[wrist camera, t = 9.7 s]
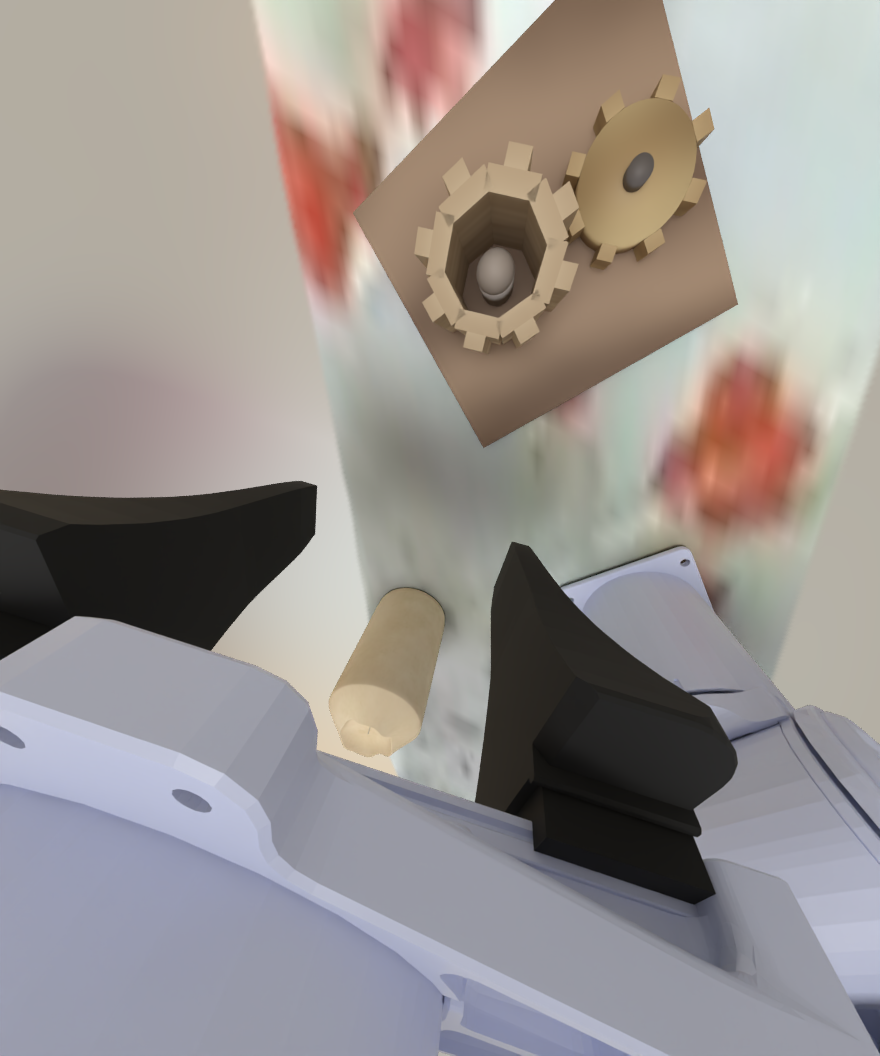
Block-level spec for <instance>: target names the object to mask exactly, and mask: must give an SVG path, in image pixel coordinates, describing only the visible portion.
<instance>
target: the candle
mask: <svg viewBox="0 0 880 1056" xmlns="http://www.w3.org/2000/svg"><path fill="white" fill-rule="evenodd" d="M444 626H445V616H444V612H443V610H442V608H441V606H440V604H439V603H438V602H437V601H436V600H435V599H434V598H433V597H431V596H430V595H428V594H427V593H425V592H423V591H420V590H417V589H412V588H399V589H395V590H392V591H390V592H389V593H387V594H386V595H385V596H384V597H383V598H382V599H381V601H380V603H379V604H378V606H377V608H376V610H375V612H374V614H373V615H372V617H371V619H370V621H369V623H368V625H367V627H366V629H365V631H364V633H363V634H362V636H361V639H360V640H359V642H358V644H357V646H356V648H355V650H354V652H353V654H352V655H351V657H350V659H349V661H348V663H347V665H346V667H345V669H344V671H343V673H342V675H341V676H340V678H339V680H338V682H337V684H336V686H335V688H334V690H333V692H332V694H331V696H330V699H329V709H330V712H331V716H332V718H333V721H334V724H335V726H336V728H337V731H338V733H339V736H340V739H341V742H342V745H343V746H344V748H346V749H347V750H350V751H353V752H355V753H357V754H360V755H362V756H365V757H372V756H374V755H377V754H383V755H384V756H387V757H389V756H390V755H392V754H393V753H394V752H396V751H397V750H398V749H400V748H402V747H403V746H405V745H406V744H408V743H410V742H411V741H413V740H414V739H415V738H416V737H417V736H418V735H419V733H420V730H421V726H422V722H423V718H424V713H425V709H426V705H427V700H428V696H429V692H430V687H431V683H432V679H433V674H434V670H435V666H436V661H437V657H438V653H439V648H440V644H441V640H442V635H443V631H444Z"/></svg>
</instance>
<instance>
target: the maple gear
mask: <svg viewBox="0 0 880 1056" xmlns="http://www.w3.org/2000/svg"><path fill="white" fill-rule="evenodd" d="M532 154H533V146H530V145H525V144H521V143H516V142H511V141H509V144H508V149H507V153H506V158H505V162H504V166H503V165H499V164H494V163H490V162H489V163H488V168H487V169H486V167H485V164H483V165H482V166H481V167H480V168H479V169H478V170H477V171H476V172H475V173H474V174H473V175H472V176H470V174H469V171H468V169H467V167H466V165H465V162H464V160H463V158H461V159H460V160H459V161H458V162H457V163H456V164H455V165H454V166H453V167H452V168H451V169H450V170H449V171H448V172H447V173H446V174H444V175H443V176H442V178H443V181H444V183H445V186H446V189H447V192H448V195H449V197H448V198H447V199H446V200H445V201H444V202H443V203H442V204H441V205H440V206H439V209H440V211H441V212H437V211H436V216H435V222H434V228H433V230H431V229H427V228H422V227H418V231H417V238H416V245H415V252H414V254H415V256H416V257H417V258H418V259H419V260H420V261H421V263H422V264H423V265H424V266H425V267H426V268H427V272H426V275H427V276H428V277H429V278H427V280H428V282H429V284H430V286H431V288H432V290H433V292H434V293H433V294H432V295H430V296H429V297H428V298H427V299H426V300H424V301H423V302H422V303H423V305H424V307H425V309H426V311H427V312H428V314H429V316H430V318H431V320H432V322H433V323H435V324H437V325H439V326H441V327H443V328H445V329H446V330H448V331H450V332H452V333H454V332H455V331H456V330H458V331H460V332H461V333H463V334H464V335H466V337H465V341H464V345H463V347H464V348H467V349H470V350H473V351H477V352H481V353H485V354H489V351H490V347H491V343H493V344H497V345H501V342H502V343H503V345H504V344H505V343H507V342H508V341H509V340H511V339H512V340H513V342H514V345H515V347H516V349H517V348H519V347H520V346H522V345H523V344H525V343H526V342H528V341H529V340H531V339H532V338H533V337H534V336H535V335H536V334H537V333H539V332H540V331H539V329H538V326H537V324H536V321H537V319H538V318H539V317H540V315H541V314H542V313H543V311H544V310H545V311H549V312H551V311H552V310H553V309H554V308H555V307H556V306H557V304H558V303H559V302H560V301H561V300H562V299H563V298H564V297H565V296H566V294H567V293H568V292H569V291H570V288H571V285H572V282H573V279H574V276H575V273H576V271H577V268H578V265H579V264H576V263H572V262H568V261H563V258H564V255H565V252H566V249H567V246H568V243H569V242H567V239H568V237H569V236H568V233H567V232H568V230H569V228H570V226H571V224H572V222H573V219H574V217H575V215H576V213H577V211H578V209H579V206H578V203H577V200H576V197H575V195H574V192H573V189H572V186H571V184H570V181H569V182H567V183H566V184H565V185H564V186H563V187H561V188H560V189H559V190H558V191H556V192H555V193H554V194H552V192H551V189H550V186H549V184H548V181H547V179H546V178H545V179H544V180H542V175H543V174H540V173H535V172H530V170H531V162H532ZM541 180H542V181H541ZM494 244H496V245H500V246H504V247H508V248H513V249H517V250H521V251H522V252H523V254H524V256H525V259H526V261H527V263H528V266H529V268H530V270H531V273H532V275H533V277H534V280H535V281H534V284H533V288H532V291H531V295H530V296H528V297H527V298H526V299H524V300H523V301H522V302H520V303H519V304H517V305H516V306H515V307H513V308H512V309H511V310H509V311H508V312H506V313H505V314H504V315H502V316H501V317H499V318H496V317H492V316H488V315H484V314H480V313H476V312H472V311H469V310H468V308H467V306H466V304H465V302H464V300H463V298H462V297H463V292H464V287H465V282H466V278H467V273H468V268H469V264H471V263H472V262H473V261H474V260H475V259H477V258H478V257H479V256H480V255H482V254H483V253H484V252H485V251H486V250H488V249H489V248H490V247H491V246H492V245H494Z"/></svg>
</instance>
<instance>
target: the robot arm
mask: <svg viewBox="0 0 880 1056" xmlns="http://www.w3.org/2000/svg"><path fill="white" fill-rule="evenodd" d="M316 498H317V486H316V485H313V484H309V483H306V482H302V481H293V482H284V483H277V484H271V485H266V486H260V487H253V488H247V489H241V490H234V491H226V492H219V493H212V494H203V495H193V496H179V497H155V498H154V497H151V498H150V497H149V498H106V497H83V496H65V495H51V494H40V493H30V492H19V491H7V490H0V1056H438V1051H439V1052H442V1053H445V1054H448V1055H451V1056H880V744H878V743H877V742H876V741H875V740H874V739H873V738H872V737H870V736H869V735H868V734H867V733H866V732H865V731H864V730H862V729H861V728H860V727H859V726H857V725H856V724H855V723H854V722H852V721H851V720H849V719H848V718H846V717H844V716H840V715H837V714H834V713H831V712H827V711H823V710H821V709H820V708H818V707H816V706H813V705H807V706H804V707H802V708H799V709H796V710H795V709H794V708H793V707H792V705H791V704H790V703H789V702H788V701H787V700H786V698H785V697H784V696H783V695H782V693H781V692H780V691H779V690H778V689H777V687H776V686H775V685H774V684H773V682H772V681H771V680H770V679H769V678H768V676H767V675H766V674H765V673H764V672H763V670H762V669H761V668H760V667H759V666H758V664H757V663H756V662H755V661H754V660H753V658H752V657H751V656H750V655H749V654H748V652H747V651H746V650H745V649H744V648H743V646H742V645H741V644H740V643H739V641H738V640H737V639H736V638H735V637H734V635H733V634H732V633H731V632H730V631H729V629H728V628H727V627H726V626H725V625H724V623H723V622H722V621H721V620H720V619H719V617H718V616H717V615H716V614H715V613H714V611H713V608H712V605H711V603H710V600H709V597H708V595H707V592H706V589H705V587H704V584H703V581H702V579H701V576H700V573H699V571H698V568H697V566H696V563H695V560H694V558H693V555H692V553H691V551H690V550H689V549H688V548H686V547H683V546H680V547H676V548H673V549H670V550H667V551H664V552H662V553H659V554H656V555H653V556H650V557H647V558H644V559H641V560H638V561H636V562H633V563H630V564H627V565H624V566H621V567H618V568H615V569H613V570H610V571H607V572H604V573H601V574H598V575H595V576H592V577H589V578H587V579H584V580H581V581H578V582H575V583H572V584H569V585H566V586H564V587H561V588H560V587H559V585H558V584H557V583H556V582H555V580H554V579H553V578H552V576H551V575H550V574H549V572H548V571H547V570H546V568H545V567H544V566H543V564H542V563H541V561H540V560H539V559H538V557H537V556H536V555H535V553H534V552H533V550H532V549H531V548H530V547H529V546H526V545H523V544H519V543H516V542H512V543H511V545H510V548H509V550H508V553H507V555H506V558H505V561H504V563H503V566H502V568H501V571H500V573H499V576H498V579H497V581H496V584H495V586H494V592H493V599H492V607H491V679H490V689H489V699H488V708H487V717H486V725H485V733H484V742H483V749H482V756H481V764H480V771H479V779H478V785H477V792H476V799H475V802H472V801H469V800H466V799H463V798H460V797H457V796H454V795H451V794H448V793H445V792H442V791H439V790H436V789H433V788H430V787H427V786H424V785H421V784H418V783H415V782H412V781H409V780H406V779H403V778H400V777H397V776H393V775H390V774H388V773H384V772H382V771H378V770H376V769H373V768H370V767H366V766H364V765H361V764H358V763H355V762H351V761H349V760H346V759H343V758H339V757H336V756H334V755H330V754H327V753H324V752H321V751H318V750H316V747H317V732H318V730H317V727H316V724H315V721H314V718H313V715H312V712H311V709H310V706H309V704H308V702H307V700H306V699H304V697H303V696H302V695H300V694H299V693H298V692H297V691H296V690H295V689H294V688H293V687H292V686H291V685H290V684H289V683H288V682H287V681H286V680H284V679H282V678H280V677H278V676H276V675H274V674H272V673H270V672H268V671H266V670H264V669H262V668H260V667H258V666H256V665H253V664H250V663H246V662H243V661H240V660H237V659H234V658H231V657H227V656H225V655H221V654H218V653H215V652H212V651H211V650H212V649H213V647H214V646H215V645H216V643H217V642H218V641H219V640H220V638H221V637H222V636H223V635H224V633H225V632H226V631H227V629H228V628H229V627H230V626H231V624H232V623H233V622H234V621H235V620H236V619H237V617H238V616H239V615H240V614H241V612H242V611H243V610H244V609H245V608H246V607H247V605H248V604H249V603H250V602H251V601H252V600H253V599H254V598H255V597H256V596H257V595H258V594H259V593H260V592H261V591H262V590H263V589H264V588H265V587H266V586H267V585H268V584H269V583H270V582H271V581H272V580H274V578H275V577H277V576H278V575H279V574H280V573H281V572H282V571H283V570H284V569H285V568H286V567H287V566H288V565H289V564H290V563H291V562H292V561H293V560H294V559H295V558H296V557H297V556H298V555H299V554H300V553H301V552H302V551H303V549H304V548H305V547H306V546H307V544H308V543H309V541H310V540H311V538H312V537H313V536H314V535H315V523H316ZM684 559H687V560H686V562H684V563H680V562H681V561H682V560H684ZM570 598H572V599H571V600H570Z"/></svg>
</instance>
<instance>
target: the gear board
mask: <svg viewBox="0 0 880 1056" xmlns="http://www.w3.org/2000/svg"><path fill="white" fill-rule="evenodd" d="M713 130H714V126H713V122H712V117H711V113H710V109H709V108H708V109H707V110H706V111H704V112H703V113H702V114H701V115H699V116H698V117H697V118H695V119H694V120H693V121H692V117H691V113H690V109H689V105H688V101H687V97H686V93H685V89H684V85H683V81H682V77H681V73H680V69H679V65H678V61H677V57H676V53H675V49H674V45H673V41H672V37H671V33H670V29H669V25H668V21H667V17H666V13H665V9H664V5H663V1H662V0H555V1H554V2H553V3H552V4H551V5H550V6H549V7H548V8H547V9H546V10H545V11H544V12H543V13H542V14H541V15H540V17H539V18H538V19H537V20H536V21H535V22H534V23H533V24H532V25H531V26H530V27H529V28H528V29H527V30H526V31H525V32H524V33H523V34H522V35H521V37H520V38H519V39H518V40H517V41H516V42H515V43H514V44H513V45H512V46H511V47H510V48H509V49H508V50H507V51H506V52H505V53H504V54H503V55H502V57H501V58H500V59H499V60H498V61H497V62H496V63H495V64H494V65H493V66H492V67H491V68H490V69H489V70H488V71H487V72H486V73H485V74H484V75H483V76H482V78H481V79H480V80H479V81H478V82H477V83H476V84H475V85H474V86H473V87H472V88H471V89H470V90H469V91H468V92H467V93H466V94H465V95H464V96H463V98H462V99H461V100H460V101H459V102H458V103H457V104H456V105H455V106H454V107H453V108H452V109H451V110H450V111H449V112H448V113H447V114H446V115H445V116H444V118H443V119H442V120H441V121H440V122H439V123H438V124H437V125H436V126H435V127H434V128H433V129H432V130H431V131H430V132H429V133H428V134H427V135H426V136H425V138H424V139H423V140H422V141H421V142H420V143H419V144H418V145H417V146H416V147H415V148H414V149H413V150H412V151H411V152H410V153H409V154H408V155H407V156H406V158H405V159H404V160H403V161H402V162H401V163H400V164H399V165H398V166H397V167H396V168H395V169H394V170H393V171H392V172H391V173H390V174H389V175H388V176H387V178H386V179H385V180H384V181H383V182H382V183H381V184H380V185H379V186H378V187H377V188H376V189H375V190H374V191H373V192H372V193H371V194H370V195H369V196H368V197H367V199H366V200H365V201H364V202H363V203H362V204H361V205H360V206H359V207H358V208H357V209H356V210H355V211H354V212H353V214H354V216H355V218H356V219H357V221H358V223H359V225H360V227H361V228H362V230H363V232H364V234H365V236H366V237H367V239H368V241H369V243H370V245H371V246H372V248H373V250H374V252H375V254H376V255H377V257H378V259H379V261H380V263H381V264H382V266H383V268H384V270H385V272H386V273H387V275H388V277H389V279H390V281H391V282H392V284H393V286H394V288H395V290H396V291H397V293H398V295H399V297H400V299H401V300H402V302H403V304H404V306H405V308H406V309H407V311H408V313H409V315H410V317H411V318H412V320H413V322H414V324H415V326H416V327H417V329H418V331H419V333H420V334H421V336H422V338H423V340H424V342H425V343H426V345H427V347H428V349H429V351H430V352H431V354H432V356H433V358H434V360H435V361H436V363H437V365H438V367H439V369H440V370H441V372H442V374H443V376H444V378H445V379H446V381H447V383H448V385H449V387H450V388H451V390H452V392H453V394H454V396H455V397H456V399H457V401H458V403H459V405H460V406H461V408H462V410H463V412H464V414H465V415H466V417H467V419H468V421H469V423H470V424H471V426H472V428H473V430H474V432H475V433H476V435H477V437H478V439H479V441H480V442H481V444H482V446H483V448H484V447H486V446H488V445H490V444H491V443H493V442H495V441H497V440H499V439H500V438H502V437H504V436H506V435H507V434H509V433H511V432H513V431H514V430H516V429H518V428H520V427H522V426H523V425H525V424H527V423H529V422H530V421H532V420H534V419H536V418H538V417H539V416H541V415H543V414H545V413H546V412H548V411H550V410H552V409H553V408H555V407H557V406H559V405H561V404H562V403H564V402H566V401H568V400H569V399H571V398H573V397H575V396H576V395H578V394H580V393H582V392H584V391H585V390H587V389H589V388H591V387H592V386H594V385H596V384H598V383H600V382H601V381H603V380H605V379H607V378H608V377H610V376H612V375H614V374H615V373H617V372H619V371H621V370H623V369H624V368H626V367H628V366H630V365H631V364H633V363H635V362H637V361H638V360H640V359H642V358H644V357H646V356H647V355H649V354H651V353H653V352H654V351H656V350H658V349H660V348H662V347H663V346H665V345H667V344H669V343H670V342H672V341H674V340H676V339H677V338H679V337H681V336H683V335H685V334H686V333H688V332H690V331H692V330H693V329H695V328H697V327H699V326H700V325H702V324H704V323H706V322H708V321H709V320H711V319H713V318H715V317H716V316H718V315H720V314H722V313H724V312H725V311H727V310H729V309H731V308H732V307H734V306H736V305H738V303H737V299H736V294H735V290H734V286H733V282H732V278H731V274H730V270H729V266H728V262H727V258H726V254H725V250H724V246H723V242H722V238H721V234H720V230H719V226H718V222H717V218H716V214H715V210H714V206H713V202H712V198H711V194H710V190H709V186H708V182H707V178H706V174H705V170H704V166H703V162H702V158H701V154H700V150H699V145H700V144H701V143H702V142H703V141H704V140H705V139H706V138H707V137H708V135H709V134H710V133H711V132H712V131H713ZM509 141H511V142H516V143H521V144H525V145H530V146H533V154H532V162H531V170H530V172H535V173H540V174H543V175H542V180H544V179H545V178H546V179H547V181H548V184H549V186H550V189H551V192H552V194H554V193H555V192H556V191H558V190H559V189H560V188H561V187H563V186H564V185H565V184H566V183H567V182H569V181H570V184H571V186H572V189H573V192H574V195H575V197H576V200H577V203H578V206H579V209H578V211H577V213H576V215H575V217H574V219H573V222H572V224H571V226H570V228H569V230H568V232H567V233H568V236H569V237H568V239H567V242H569V243H568V246H567V249H566V252H565V255H564V258H563V261H568V262H572V263H576V264H579V265H578V268H577V271H576V273H575V276H574V279H573V282H572V285H571V288H570V291H569V292H568V293H567V294H566V296H565V297H564V298H563V299H562V300H561V301H560V302H559V303H558V304H557V306H556V307H555V308H554V309H553V310H552V311H551V312H549V311H545V310H544V311H543V313H542V314H541V315H540V317H539V318H538V319H537V321H536V324H537V326H538V329H539V331H540V332H539V333H537V334H536V335H535V336H534V337H533V338H532V339H531V340H529V341H528V342H526V343H525V344H523V345H522V346H520V347H519V348H517V349H516V347H515V345H514V342H513V340H512V339H511V340H509V341H508V342H507V343H505V344H504V345H503V343H502V342H501V345H497V344H493V343H491V347H490V351H489V354H485V353H481V352H477V351H473V350H470V349H467V348H464V347H463V345H464V341H465V337H466V335H464V334H463V333H461V332H460V331H458V330H456V331H455V332H454V333H452V332H450V331H448V330H446V329H445V328H443V327H441V326H439V325H437V324H435V323H433V322H432V320H431V318H430V316H429V314H428V312H427V311H426V309H425V307H424V305H423V303H422V302H423V301H424V300H426V299H427V298H428V297H429V296H430V295H432V294H433V293H434V292H433V290H432V288H431V286H430V284H429V282H428V280H427V278H429V277H428V276H427V275H426V272H427V268H426V267H425V266H424V265H423V264H422V263H421V261H420V260H419V259H418V258H417V257H416V256H415V254H414V252H415V245H416V238H417V231H418V227H422V228H427V229H431V230H433V228H434V222H435V216H436V211H437V212H441V211H440V209H439V206H440V205H441V204H442V203H443V202H444V201H445V200H446V199H447V198H448V197H449V195H448V192H447V189H446V186H445V183H444V181H443V178H442V176H443V175H444V174H446V173H447V172H448V171H449V170H450V169H451V168H452V167H453V166H454V165H455V164H456V163H457V162H458V161H459V160H460V159H461V158H463V160H464V162H465V165H466V167H467V169H468V171H469V174H470V176H472V175H473V174H474V173H475V172H476V171H477V170H478V169H479V168H480V167H481V166H482V165H483V164H485V167H486V169H487V168H488V163H489V162H490V163H494V164H499V165H503V166H504V162H505V158H506V153H507V149H508V144H509ZM542 180H541V181H542ZM534 281H535V280H534V277H533V275H532V273H531V270H530V268H529V266H528V263H527V261H526V259H525V256H524V254H523V252H522V251H521V250H517V249H513V248H508V247H504V246H500V245H496V244H494V245H492V246H491V247H490V248H489V249H488V250H486V251H485V252H484V253H483V254H482V255H480V256H479V257H478V258H477V259H475V260H474V261H473V262H472V263H471V264H469V268H468V273H467V278H466V282H465V287H464V292H463V297H462V298H463V300H464V302H465V304H466V306H467V308H468V310H469V311H472V312H476V313H480V314H484V315H488V316H492V317H496V318H499V317H501V316H502V315H504V314H505V313H506V312H508V311H509V310H511V309H512V308H513V307H515V306H516V305H517V304H519V303H520V302H522V301H523V300H524V299H526V298H527V297H528V296H530V295H531V291H532V288H533V284H534Z"/></svg>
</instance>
